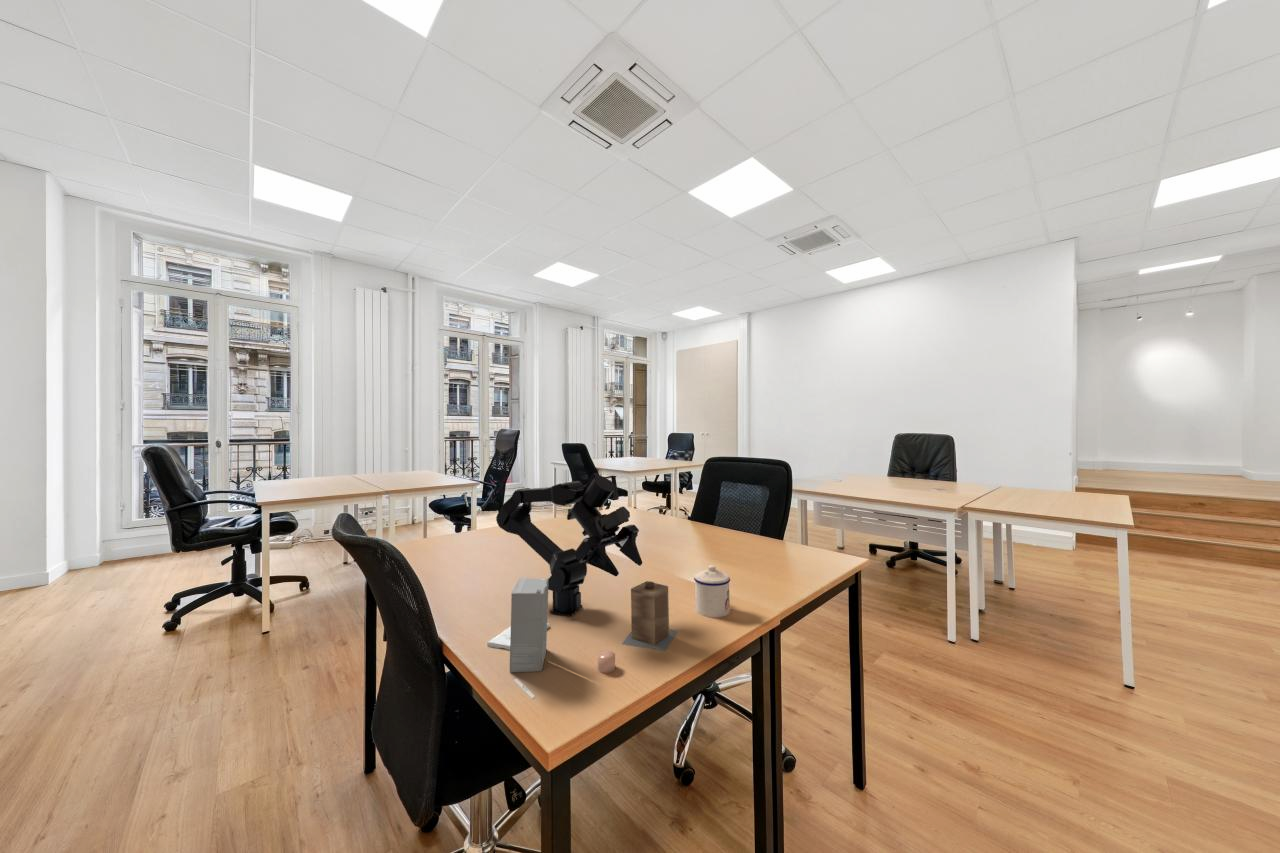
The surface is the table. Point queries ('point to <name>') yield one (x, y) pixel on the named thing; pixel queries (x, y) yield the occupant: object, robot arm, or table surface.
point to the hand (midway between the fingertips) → (629, 569)
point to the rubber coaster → (659, 646)
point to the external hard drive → (503, 639)
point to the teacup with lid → (712, 593)
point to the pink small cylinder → (606, 662)
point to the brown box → (650, 612)
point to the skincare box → (528, 624)
